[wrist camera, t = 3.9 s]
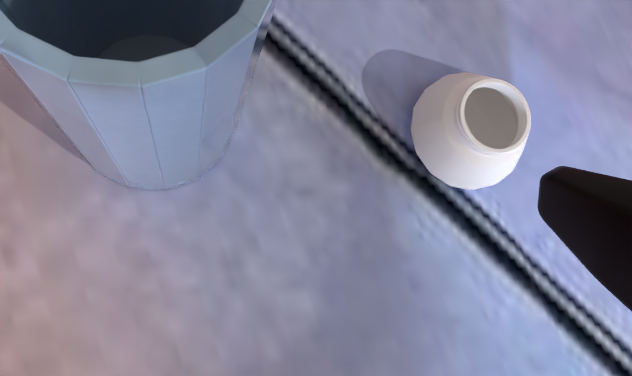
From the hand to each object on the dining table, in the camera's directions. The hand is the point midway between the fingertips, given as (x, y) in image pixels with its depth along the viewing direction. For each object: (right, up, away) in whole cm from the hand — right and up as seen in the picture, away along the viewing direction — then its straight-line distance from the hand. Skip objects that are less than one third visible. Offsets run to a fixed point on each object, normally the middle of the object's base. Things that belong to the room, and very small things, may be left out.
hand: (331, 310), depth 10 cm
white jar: (+6, +4, +16) cm, 18 cm away
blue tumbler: (-7, +5, +13) cm, 16 cm away
